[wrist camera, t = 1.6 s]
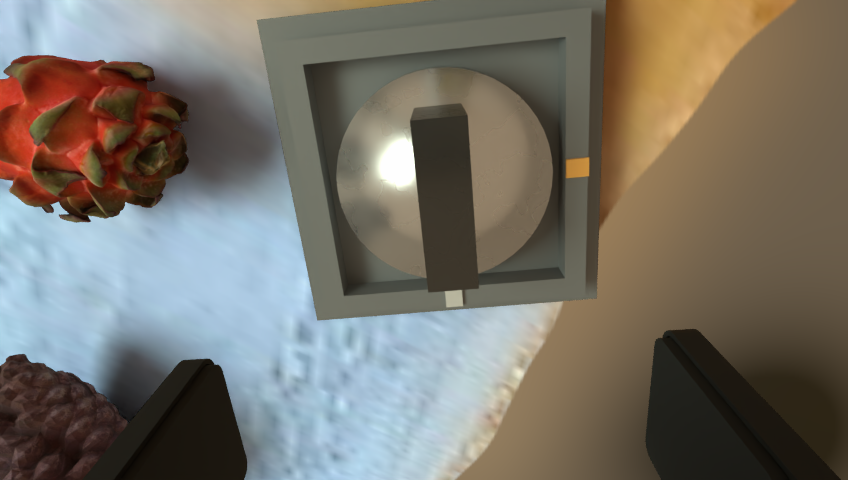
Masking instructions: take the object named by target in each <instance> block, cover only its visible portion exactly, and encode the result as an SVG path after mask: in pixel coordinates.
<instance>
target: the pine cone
mask: <svg viewBox="0 0 848 480" xmlns="http://www.w3.org/2000/svg"><path fill="white" fill-rule="evenodd" d="M127 425H128V423H127V420H125V419H124V418H123V417H121V416H120V414H119V411H118V409H117V408H116V406H115V405H114V404H112V403H109V402H108V401H107V399H106V397H105V396H104V395H102V394H100V393H97V392H96V390H95V388H94V387H93V385H91V384H89V383H86V382H83V381H81V380H80V378H78V377H77V376H76V375H74V374H72V373H68V372H66V373H65V372H63V371H57V372H56V371H54V370H53V369H51V368H49V367H46V365H45V364H44V363H31V362H30V361H29V360H28V359H27V357H26V355H25V354H18V355H13V356H9V357H8V358H7V359H6V362H5V363H4V364H2V365H1V366H0V480H82V479H83V478H84V477H85V476H86V474H87V473H88V472H89V471H90V470H91V468H92V467H93V466H94V465H95V464H96V462H97V461H98V460H99V459H100V458H101V456H102V455H103V454H104V453H105V452H106V450H107V449H108V448H109V447H110V446H111V444H112V443H113V442H114V441H115V439H116V438H117V437H118V436H119V435H120V433H121V432H122V431H123V430H124V429H125V427H126V426H127Z"/></svg>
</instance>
